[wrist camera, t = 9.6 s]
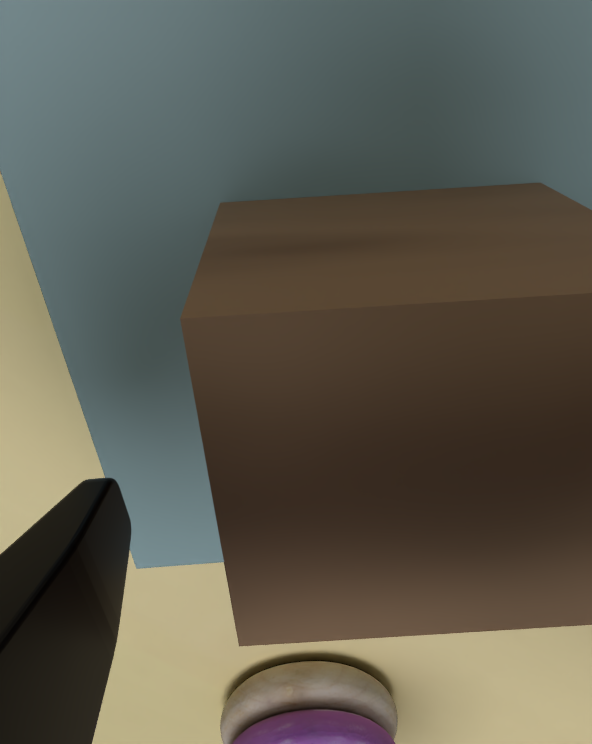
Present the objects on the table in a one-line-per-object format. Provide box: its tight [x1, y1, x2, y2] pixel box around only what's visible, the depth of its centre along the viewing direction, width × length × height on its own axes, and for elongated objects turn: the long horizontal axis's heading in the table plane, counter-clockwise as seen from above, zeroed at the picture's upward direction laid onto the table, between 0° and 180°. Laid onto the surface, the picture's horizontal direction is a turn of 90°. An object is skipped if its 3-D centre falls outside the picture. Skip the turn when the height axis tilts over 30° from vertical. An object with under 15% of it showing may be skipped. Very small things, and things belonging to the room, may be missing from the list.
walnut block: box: [180, 183, 592, 646], centre depth 10 cm, size 6×6×5 cm
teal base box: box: [0, 0, 592, 569], centre depth 13 cm, size 14×14×4 cm
